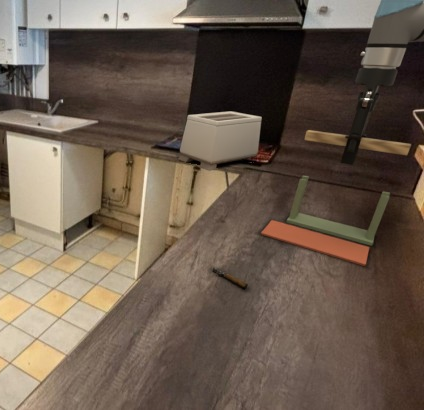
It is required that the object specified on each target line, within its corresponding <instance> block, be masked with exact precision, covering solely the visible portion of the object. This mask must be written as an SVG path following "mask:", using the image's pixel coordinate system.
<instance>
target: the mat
mask: <svg viewBox="0 0 424 410" xmlns="http://www.w3.org/2000/svg"><path fill="white" fill-rule="evenodd" d="M260 235H261V236H264V237H266V238H267V237H268V238H270V239H274V240H277V241H281V242H283V243H284V242H285V243H287V244H289V245H294V246H298V247H299V248H304V249H307V250H310V251H314V252H317V253H320V254H324V255H327V256H330V257H333V258H336V259H340V260H343V261H346V262H350V263H353V264H356V265H358V266H359V265H360V266H362V267H366V265H367V261H368V256H369V251H370V246H368V245H364V244H361V243H357V242H354V241H350V240H346V239H343V238H339V237H336V236H332V235H328V234H325V233H321V232H318V231H314V230H311V229H307V228H303V227H300V226H296V225H293V224H289V223H284V222H281V221H278V220H273V219H271V220H270V221H269V222H268V224H267V225H266V226H265V227H264V229H263V230H262V231H261V232H260Z"/></svg>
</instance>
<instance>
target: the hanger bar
mask: <svg viewBox="0 0 424 410" xmlns="http://www.w3.org/2000/svg"><path fill="white" fill-rule="evenodd" d="M348 135H349V134H348ZM348 135H347V134H340V133H334V132H333V133H332V132H325V131H324V132H323V131H319V130H312V129H308V130H306V131H305V136H304V141H308V142H315V143H323V144H329V145H336V146H340V147H341V146H343V147H345V146H346V143H347V140H348V139H347V138H345V136H348ZM360 140H361V142H360V145H359V149H361V150H368V151H375V152H381V153H387V154H394V155H401V156H408V155H409V152H410V149H411V147H412V144H411V143H406V142H400V141H399V142H398V141H393V140H392V141H391V140H383V139H379V138H378V139H377V138H370V137H366V138H365V137H362V138H361V139H360Z"/></svg>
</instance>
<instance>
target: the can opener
mask: <svg viewBox="0 0 424 410" xmlns="http://www.w3.org/2000/svg"><path fill="white" fill-rule="evenodd" d="M212 271H213V272H216V274H219V275H223V276H224V278H226V279H228V280H229V281H231V282H232V283H234V284H236V285H238V286H239V287H241V288H244V289H247V288H248V286H249V285H248V283H247V282H245V281H243V280H241V279H239V278H237V277H234V276H233V275H231V274H229V273H228V272H225V271H224V270H223V269H221V268H218V267H216V266H213V267H212Z"/></svg>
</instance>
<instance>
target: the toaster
mask: <svg viewBox="0 0 424 410" xmlns="http://www.w3.org/2000/svg"><path fill="white" fill-rule="evenodd" d="M262 120H263V119H262V116H259V115H253V114H247V113H242V112H237V111H220V112H208V113H198V114H197V113H196V114H188V115H187V118H186V124H185V127H184V131H183V136H182V139H181V143H180V148H179V154H180V156H179V157H178V158H177V160H179V161H181V162H184V163H189V162H193V161H197V162H200V165H199V166H200V169H203V170H205V171H208V172H211V171H216V170H217V166H218V165H220V164H225V163H230V162H236V161H243V160H242V159H246V158H251V157H255V158H256V156H258V153H259V146H260V136H261V126H262ZM249 163H250V164H252V162H249Z"/></svg>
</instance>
